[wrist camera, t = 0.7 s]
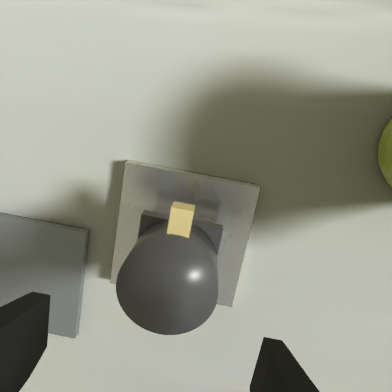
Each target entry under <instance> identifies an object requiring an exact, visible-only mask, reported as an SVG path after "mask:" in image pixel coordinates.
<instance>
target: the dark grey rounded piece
mask: <svg viewBox="0 0 392 392" xmlns="http://www.w3.org/2000/svg"><path fill="white" fill-rule="evenodd" d="M194 209H195V205H191V204H186V203H181V202H176V201H174V202H173V204H172V207H171V211H170V215H169V214H164V213H159V212H154V211H148V210H144V211H143V213H142V214H141V219H140V226H139V233H138V239H137V242H136V243H135V245H134V246H133V248H132V250H131V251H130V253H129V255H128V256H127V258H126V259H125V261H124V263H123V264H122V266H121V268H120V270H119V273H118V275H117V280H116V292H117V297H118V300H119V303H120V305H121V307H122V309H123V310H124V312H125V313H126V315H127V316H128V317H129V318H130V319H131V320H132V321H133V322H134V323H136V324H137V325H139V326H140V327H142V328H144V329H146V330H148V331H151V332H154V333H158V334H164V335H176V334H182V333H186V332H189V331H191V330H193V329H196V328H197V327H199V326H200V325H202V324H203V323H204V322H205V321H206V320H207V319H208V318H209V317H210V315H211V314H212V312H213V310H214V308H215V306H216V303H217V298H218V262H217V255H218V251H219V246H220V241H221V237H222V232H223V225H221V224H215V223H210V222H205V221H200V220H195V219H193V215H194Z"/></svg>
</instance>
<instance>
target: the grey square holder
mask: <svg viewBox="0 0 392 392" xmlns="http://www.w3.org/2000/svg"><path fill="white" fill-rule="evenodd" d="M259 192H260V187H259V185H255V184H250V183H245V182H240V181H234V180H229V179H224V178H219V177H214V176H209V175H203V174H198V173H193V172H188V171H183V170H177V169H172V168H167V167H162V166H157V165H152V164H146V163H141V162H136V161H131V160H128V161H126V162H125V169H124V176H123V184H122V192H121V200H120V208H119V216H118V223H117V231H116V239H115V247H114V255H113V263H112V270H111V278H110V283H113V284H116V280H117V275H118V273H119V270H120V268H121V266H122V264H123V263H124V261H125V259H126V258H127V256H128V255H129V253H130V251H131V250H132V248H133V246H134V245H135V243H136V242H137V239H138V233H139V226H140V219H141V214H142V213H143V211H144V210H148V211H154V212H159V213H164V214H169V215H170V211H171V207H172V204H173V202H174V201H176V202H181V203H186V204H191V205H195V209H194V215H193V219H195V220H200V221H205V222H210V223H215V224H221V225H223V232H222V237H221V241H220V246H219V251H218V255H217V262H218V298H217V303H216V304H219V305H224V306H230V307H232V303H233V299H234V294H235V290H236V286H237V282H238V278H239V274H240V270H241V266H242V262H243V258H244V253H245V249H246V245H247V241H248V237H249V233H250V229H251V225H252V221H253V217H254V212H255V208H256V204H257V200H258V196H259Z"/></svg>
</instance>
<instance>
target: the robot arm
mask: <svg viewBox="0 0 392 392" xmlns="http://www.w3.org/2000/svg"><path fill="white" fill-rule="evenodd" d="M50 297H51V295H48V294H43V293H38V292H31V293H28V294H26V295H24V296H22V297H20V298H18V299H16V300H14V301H12V302H10V303H8V304H6V305H4V306H2V307H0V392H19V391H20V389H21V388H22V387H23V385H24V384H25V382H26V381H27V380H28V378H29V377H30V375H31V373H32V372H33V370H34V368H35V367H36V365H37V363H38V361H39V360H40V358H41V356H42V354H43V352H44V351H45V349H46V347H47V337H48V324H49V310H50ZM250 392H319V390H318V389H317V388H316V386H315V385H314V384H313V383H312V381H311V380H310V378H309V377H308V376H307V374H306V373H305V372H304V370H303V369H302V367H301V366H300V365H299V363H298V362H297V361H296V359H295V358H294V356H293V355H292V353H291V352H290V351H289V349H288V348H287V347H286V345H285V344H284V343H283V341H281V340H276V339H271V338H266V337H264V338H263V342H262V346H261V349H260V353H259V356H258V360H257V363H256V367H255V370H254V374H253V377H252V381H251V384H250Z"/></svg>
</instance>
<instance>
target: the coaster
mask: <svg viewBox="0 0 392 392" xmlns="http://www.w3.org/2000/svg"><path fill="white" fill-rule="evenodd" d="M88 233H89V230H87V229H82V228H77V227H72V226H66V225H61V224H56V223H51V222H46V221H41V220H36V219H31V218H25V217H20V216H15V215H10V214H5V213H0V307H2V306H4V305H6V304H8V303H10V302H12V301H14V300H16V299H18V298H20V297H22V296H24V295H26V294H28V293H31V292H38V293H43V294H48V295H51V297H50V310H49V324H48V333H50V334H55V335H60V336H66V337H71V338H76V336H77V335H78V330H79V320H80V311H81V301H82V291H83V282H84V272H85V262H86V253H87V243H88Z"/></svg>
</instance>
